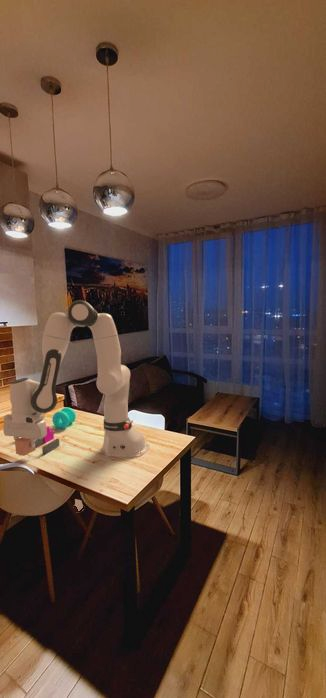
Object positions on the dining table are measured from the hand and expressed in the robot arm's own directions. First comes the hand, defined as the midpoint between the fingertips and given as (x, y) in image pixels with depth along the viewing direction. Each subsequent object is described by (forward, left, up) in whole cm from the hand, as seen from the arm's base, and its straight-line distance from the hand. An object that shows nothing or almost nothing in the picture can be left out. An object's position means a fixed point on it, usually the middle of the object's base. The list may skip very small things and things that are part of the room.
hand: (26, 446), depth 129 cm
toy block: (+11, -19, -6) cm, 23 cm away
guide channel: (+1, -11, -6) cm, 12 cm away
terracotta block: (0, 0, -2) cm, 2 cm away
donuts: (+10, -38, -6) cm, 39 cm away
